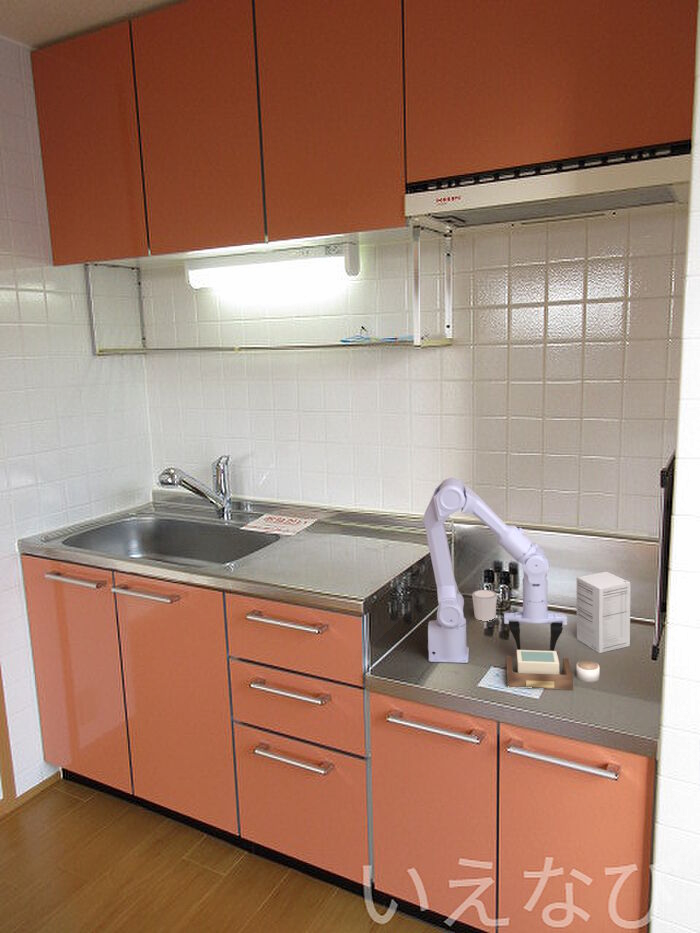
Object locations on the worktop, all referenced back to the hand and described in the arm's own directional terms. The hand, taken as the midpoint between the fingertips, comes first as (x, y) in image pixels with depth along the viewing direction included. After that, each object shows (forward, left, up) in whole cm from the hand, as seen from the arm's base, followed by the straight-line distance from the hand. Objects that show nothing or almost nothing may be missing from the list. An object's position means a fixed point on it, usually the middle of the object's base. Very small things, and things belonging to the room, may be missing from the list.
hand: (535, 651), depth 167 cm
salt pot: (+11, -8, -2) cm, 14 cm away
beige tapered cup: (-12, +24, -2) cm, 27 cm away
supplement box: (+17, +10, -2) cm, 20 cm away
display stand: (0, -10, -2) cm, 10 cm away
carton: (0, -8, -2) cm, 8 cm away
